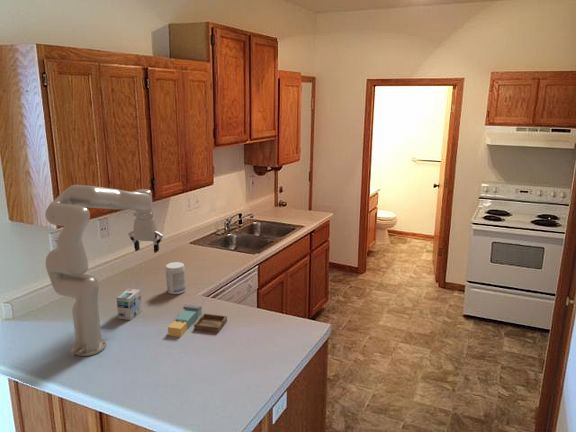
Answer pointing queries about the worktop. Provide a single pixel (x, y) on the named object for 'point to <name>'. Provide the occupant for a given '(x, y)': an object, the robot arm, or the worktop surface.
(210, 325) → the tray
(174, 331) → the stub
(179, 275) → the supplement tub
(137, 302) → the light bulb box
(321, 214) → the worktop surface
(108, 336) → the worktop surface
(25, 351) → the worktop surface
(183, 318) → the mint slotted bar
